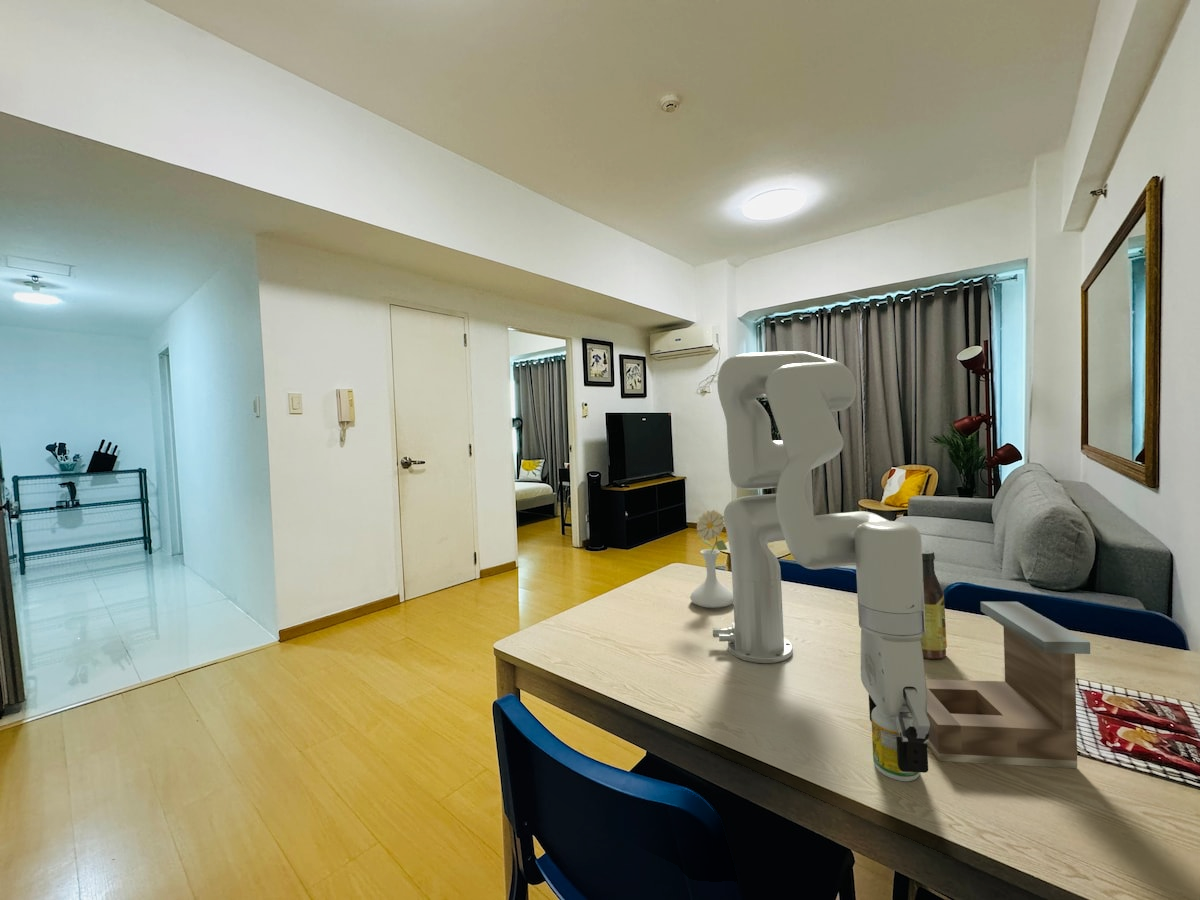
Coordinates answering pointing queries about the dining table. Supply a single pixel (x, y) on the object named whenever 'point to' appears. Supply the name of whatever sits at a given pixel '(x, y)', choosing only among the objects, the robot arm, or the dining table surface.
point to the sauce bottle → (933, 611)
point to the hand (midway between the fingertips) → (896, 745)
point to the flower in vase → (711, 564)
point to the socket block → (1013, 698)
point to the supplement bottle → (888, 745)
